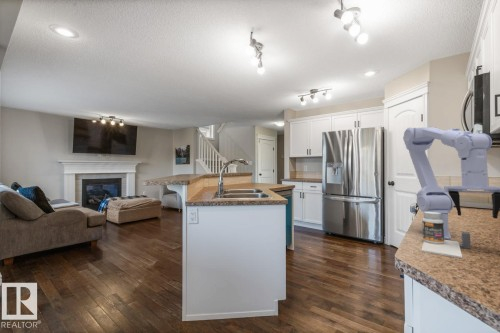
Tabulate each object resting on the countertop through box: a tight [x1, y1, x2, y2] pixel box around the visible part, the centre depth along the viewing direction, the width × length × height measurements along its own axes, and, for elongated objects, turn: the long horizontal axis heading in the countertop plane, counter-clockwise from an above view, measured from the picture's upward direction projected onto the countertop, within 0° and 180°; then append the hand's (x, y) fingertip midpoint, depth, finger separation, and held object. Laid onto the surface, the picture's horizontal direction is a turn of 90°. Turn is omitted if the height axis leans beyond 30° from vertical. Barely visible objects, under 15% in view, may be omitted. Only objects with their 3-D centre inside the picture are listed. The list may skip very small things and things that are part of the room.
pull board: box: [421, 231, 472, 259], centre depth 71 cm, size 18×12×4 cm, turn 139°
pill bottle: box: [421, 212, 445, 244], centre depth 76 cm, size 6×6×10 cm
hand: (476, 216), depth 68 cm, fingers open, 7 cm apart
